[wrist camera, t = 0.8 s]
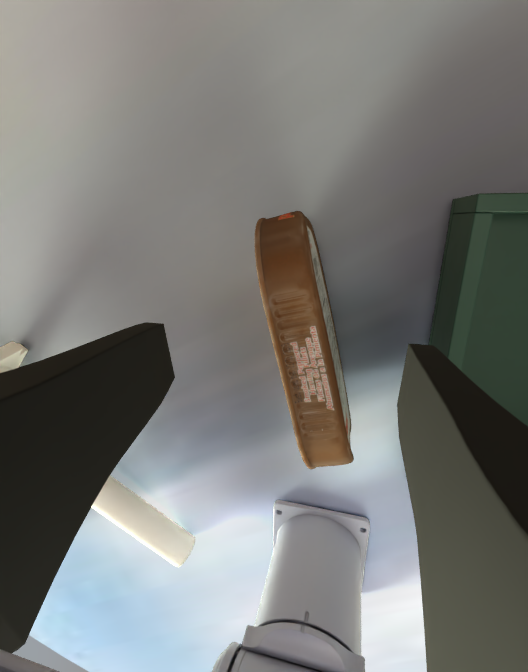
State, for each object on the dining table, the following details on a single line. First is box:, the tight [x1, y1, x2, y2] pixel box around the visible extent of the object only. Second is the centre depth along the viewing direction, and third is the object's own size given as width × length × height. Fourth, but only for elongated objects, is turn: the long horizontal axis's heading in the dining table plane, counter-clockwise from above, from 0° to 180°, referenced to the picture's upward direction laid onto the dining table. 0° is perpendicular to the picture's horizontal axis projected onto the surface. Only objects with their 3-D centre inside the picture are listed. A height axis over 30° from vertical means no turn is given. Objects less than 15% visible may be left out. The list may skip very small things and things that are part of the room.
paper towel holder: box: [0, 341, 195, 567], centre depth 31 cm, size 9×9×32 cm
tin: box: [254, 211, 354, 469], centre depth 20 cm, size 15×3×8 cm, turn 14°
